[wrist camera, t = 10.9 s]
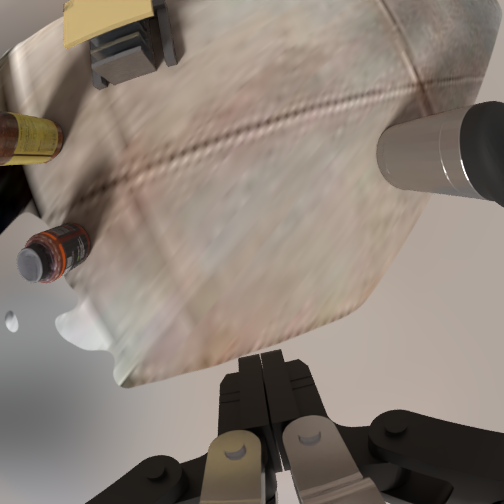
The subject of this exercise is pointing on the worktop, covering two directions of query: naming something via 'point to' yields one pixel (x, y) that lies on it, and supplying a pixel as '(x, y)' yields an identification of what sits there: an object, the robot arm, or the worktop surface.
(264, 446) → the robot arm
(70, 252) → the supplement bottle
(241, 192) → the worktop surface
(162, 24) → the grey and yellow stand
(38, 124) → the sauce bottle
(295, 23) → the worktop surface
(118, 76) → the heatsink block
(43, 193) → the worktop surface
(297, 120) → the worktop surface
